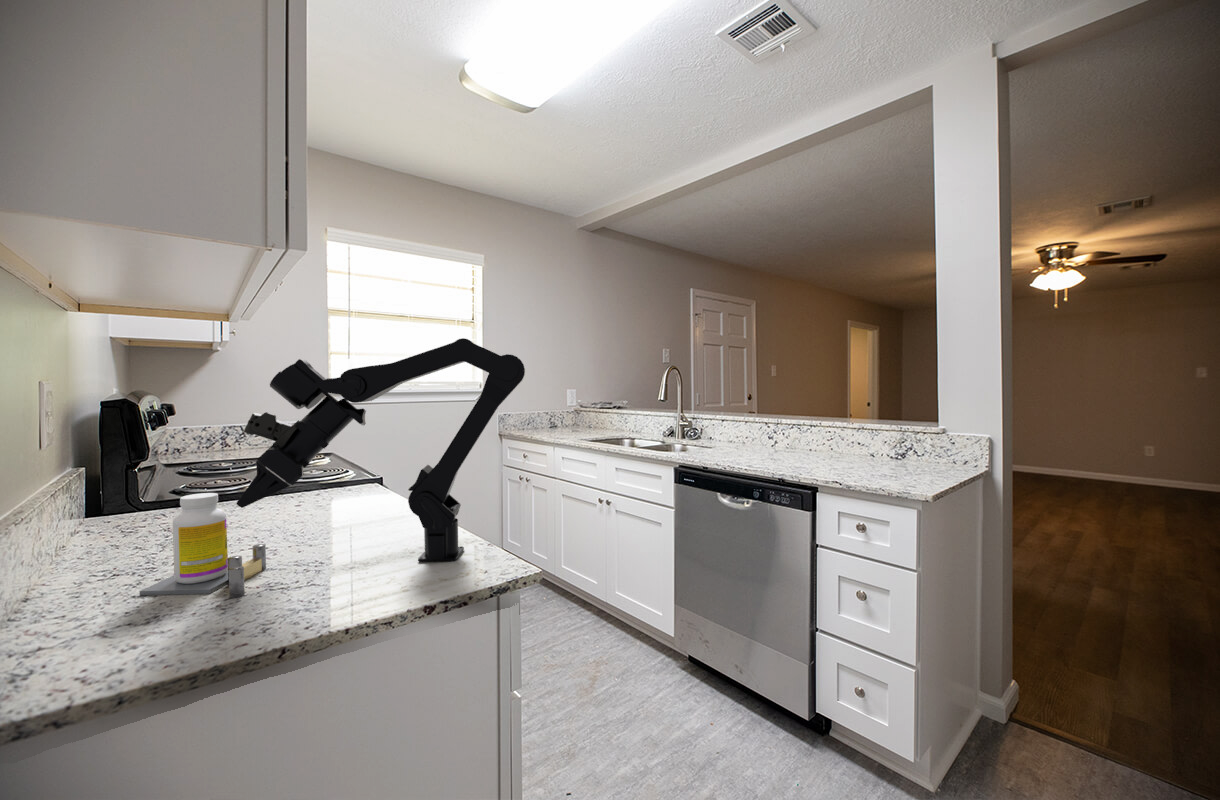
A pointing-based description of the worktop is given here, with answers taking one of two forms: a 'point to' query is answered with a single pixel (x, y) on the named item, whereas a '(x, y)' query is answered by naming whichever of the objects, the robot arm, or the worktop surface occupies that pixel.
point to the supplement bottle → (199, 539)
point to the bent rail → (245, 570)
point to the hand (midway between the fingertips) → (243, 500)
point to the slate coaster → (185, 587)
